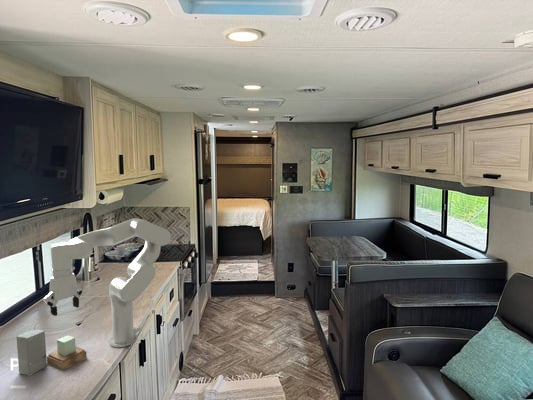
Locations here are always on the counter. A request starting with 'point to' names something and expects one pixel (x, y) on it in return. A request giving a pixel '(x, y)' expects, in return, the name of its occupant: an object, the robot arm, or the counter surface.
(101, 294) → the counter surface
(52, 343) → the counter surface
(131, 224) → the robot arm
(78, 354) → the walnut pedestal
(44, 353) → the skincare box
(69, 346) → the sage block
